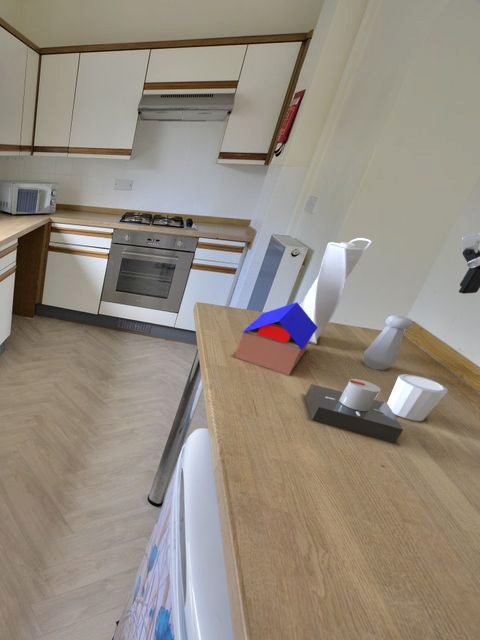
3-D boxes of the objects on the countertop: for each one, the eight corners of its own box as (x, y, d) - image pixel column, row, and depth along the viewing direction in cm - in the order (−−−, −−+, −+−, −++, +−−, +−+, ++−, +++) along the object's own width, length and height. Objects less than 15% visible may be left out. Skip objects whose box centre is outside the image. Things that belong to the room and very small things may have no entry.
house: (306, 350, 106) (326, 309, 101) (290, 375, 93) (311, 329, 88) (254, 335, 114) (270, 295, 109) (232, 356, 101) (248, 312, 96)
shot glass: (374, 406, 83) (391, 376, 80) (392, 400, 86) (409, 371, 83) (418, 426, 78) (438, 395, 75) (435, 418, 80) (455, 388, 77)
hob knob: (366, 403, 79) (378, 382, 76) (371, 414, 75) (383, 392, 73) (337, 395, 81) (348, 375, 79) (340, 405, 77) (352, 384, 75)
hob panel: (379, 415, 80) (387, 402, 79) (395, 443, 73) (404, 429, 71) (305, 395, 86) (311, 383, 84) (312, 419, 78) (319, 406, 77)
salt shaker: (358, 358, 104) (383, 310, 98) (388, 365, 101) (415, 316, 95) (361, 366, 99) (387, 317, 94) (392, 374, 97) (422, 324, 91)
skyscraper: (324, 338, 114) (372, 237, 102) (322, 347, 109) (373, 241, 96) (288, 329, 119) (329, 232, 107) (284, 337, 113) (328, 235, 101)
